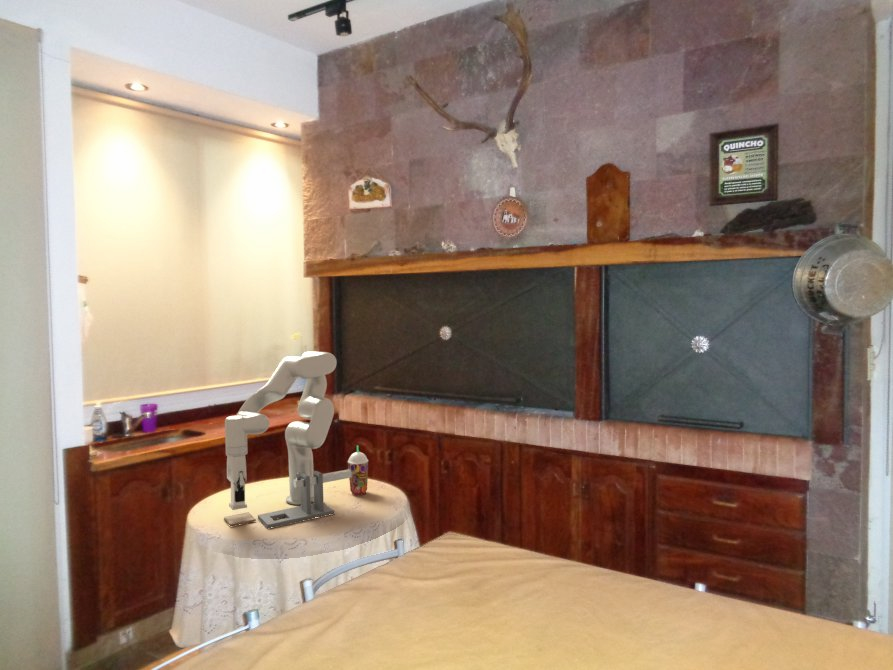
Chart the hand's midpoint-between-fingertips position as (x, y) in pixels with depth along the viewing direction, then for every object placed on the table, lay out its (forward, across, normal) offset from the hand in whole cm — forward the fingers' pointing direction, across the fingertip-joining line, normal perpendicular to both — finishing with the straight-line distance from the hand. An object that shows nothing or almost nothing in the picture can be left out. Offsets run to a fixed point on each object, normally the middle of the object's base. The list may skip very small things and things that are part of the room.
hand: (238, 499), depth 235 cm
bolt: (-4, +9, +29) cm, 31 cm away
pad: (+8, 0, 0) cm, 8 cm away
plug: (+3, 0, 0) cm, 3 cm away
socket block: (+8, +8, +19) cm, 22 cm away
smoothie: (+8, -3, +49) cm, 50 cm away
